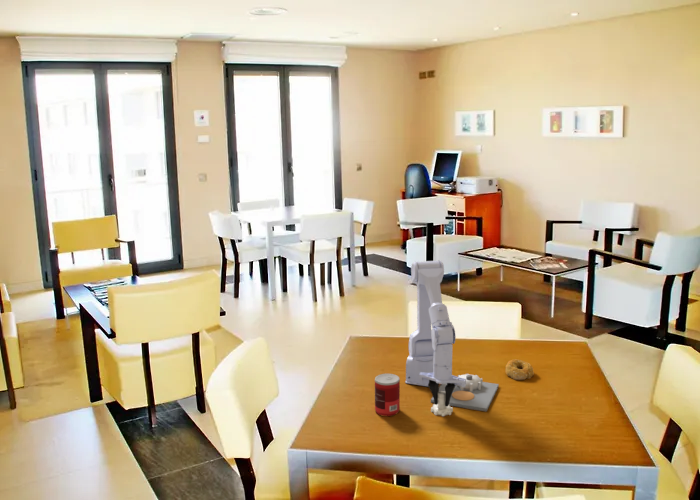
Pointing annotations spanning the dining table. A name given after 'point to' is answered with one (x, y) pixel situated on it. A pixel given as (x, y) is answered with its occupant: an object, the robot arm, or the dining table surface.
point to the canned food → (387, 394)
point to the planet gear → (441, 405)
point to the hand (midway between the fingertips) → (441, 404)
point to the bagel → (519, 369)
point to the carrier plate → (472, 393)
